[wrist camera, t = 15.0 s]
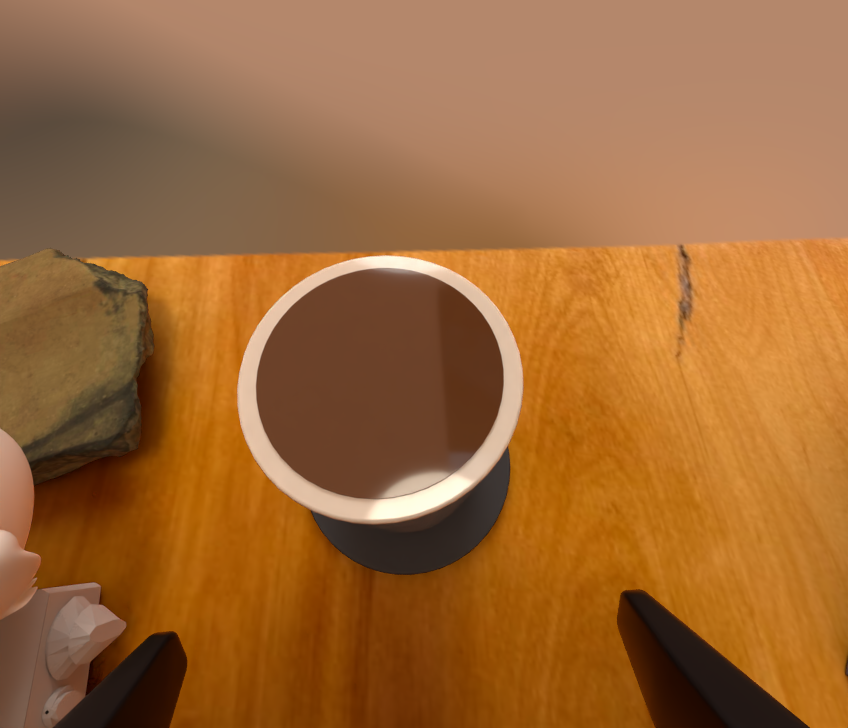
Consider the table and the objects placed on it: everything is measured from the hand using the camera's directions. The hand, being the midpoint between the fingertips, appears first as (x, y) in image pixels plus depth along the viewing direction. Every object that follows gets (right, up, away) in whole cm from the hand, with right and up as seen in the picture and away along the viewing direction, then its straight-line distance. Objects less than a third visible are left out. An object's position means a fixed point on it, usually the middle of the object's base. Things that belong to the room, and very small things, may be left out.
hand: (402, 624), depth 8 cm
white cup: (0, +1, +8) cm, 9 cm away
